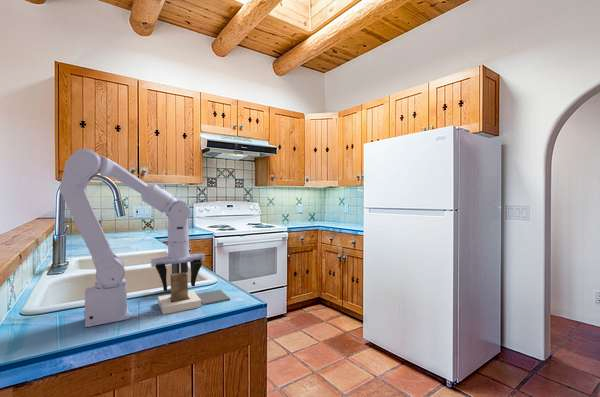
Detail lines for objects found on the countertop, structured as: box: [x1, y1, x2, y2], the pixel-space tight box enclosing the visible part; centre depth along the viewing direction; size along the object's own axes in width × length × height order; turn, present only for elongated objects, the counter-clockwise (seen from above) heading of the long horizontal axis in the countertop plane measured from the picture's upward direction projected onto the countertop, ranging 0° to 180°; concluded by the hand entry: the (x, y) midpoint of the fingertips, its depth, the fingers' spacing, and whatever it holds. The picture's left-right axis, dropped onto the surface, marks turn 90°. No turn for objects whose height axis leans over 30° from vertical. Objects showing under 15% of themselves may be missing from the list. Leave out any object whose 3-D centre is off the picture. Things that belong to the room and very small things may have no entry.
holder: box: [157, 290, 202, 315], centre depth 90 cm, size 10×10×2 cm
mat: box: [196, 289, 231, 306], centre depth 96 cm, size 8×10×1 cm
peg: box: [170, 272, 189, 303], centre depth 90 cm, size 4×4×9 cm
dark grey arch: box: [171, 262, 189, 274], centre depth 104 cm, size 7×4×11 cm, turn 38°
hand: (179, 287), depth 90 cm, fingers open, 7 cm apart
